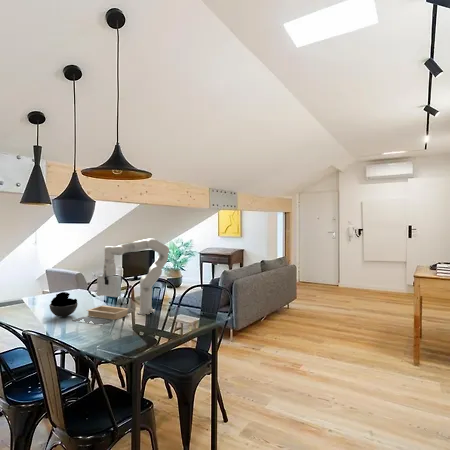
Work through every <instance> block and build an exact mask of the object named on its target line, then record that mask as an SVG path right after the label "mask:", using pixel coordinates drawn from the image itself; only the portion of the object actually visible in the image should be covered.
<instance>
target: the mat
mask: <svg viewBox="0 0 450 450" xmlns="http://www.w3.org/2000/svg"><path fill="white" fill-rule="evenodd" d="M82 319H84V321H85V322H88V323H87V324H89V322H90V321H92V322H93V323H94V324H93V325H96V324H103V325H106V324H108V323H111V322H112V320H111V319H108V320H107V319H104V318H97V317H90V316H81V317H79V318H75V319H72V322H76V321H80V320H82ZM105 323H106V324H105Z"/></svg>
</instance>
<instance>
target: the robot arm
mask: <svg viewBox="0 0 450 450" xmlns="http://www.w3.org/2000/svg"><path fill="white" fill-rule="evenodd" d="M145 250H152V251H153V252H156V253H157V254H158V255H157V257H156V260H155V261H154V262H153V263H152V264H151V266H150V267H149V269H148V273H147V274H144V275H142V276H141V278H140V280H139V291H140V292H139V310H138V311H137V314H139V315H142V316H143V315H145V314H147V315H151V314H150V313H152V312H153V313H156V312H155V311H156V309H155V308H154V309H153V306H152V303H153V301H152V297H153V295H152V294H153V288H152V287H153V286H154V285H155V284H156V282H157V281H158V280H159V278H160V277H161V275H162V272H163V268H164V267H165V265H166V264H167V262H168V259H169V252H170V248H169V247H168V246H167V245H166V244H165V243H162V242H160V241H159V240H158V239H156V238H153V237H151V238H150V237H149V238H146V239H141V240H136V241H132V242H128V243H122V244H119V245H116V246H114V245H106V246H105V247H104V261H103V262H104V264H103V270H102V271H103V272H102V274H101V275H102V276H103V277H104V280H105V285H108V282H109V280H108V277H109V276H117V273H116V270H117V269H116V263H115V256H122V255H124V254H126V253H131V252H132V253H133V252H134V253H135V252H141V251H145ZM106 276H107V277H106ZM153 313H152V314H153Z"/></svg>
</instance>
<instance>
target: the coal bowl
mask: <svg viewBox="0 0 450 450" xmlns="http://www.w3.org/2000/svg"><path fill="white" fill-rule="evenodd" d="M70 295H71V294H70V293H69V292H66V291H62V292H60V293H59V292H58V293H56V295H55V297H53V298H52V300H50V304H49V310H50V312H51V313H52V314H53V315H54V316H56V317H58V318H65V317H69V316H71V315H72V314H73V313H74V312H75V311H76V309H77V308H78V305H79V304H78V299H77V298H74V299H73V298H70Z"/></svg>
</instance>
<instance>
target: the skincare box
mask: <svg viewBox="0 0 450 450" xmlns="http://www.w3.org/2000/svg"><path fill="white" fill-rule="evenodd" d="M102 275H103V274H100V275H99V274H98V275H97V277H96V280H97V282H96V285H97V286H96V295H97V296H104V297H112V298H119V297H121V296H122V276H121V275H120V276H119V275H115V276H109V277H108V280H109V282H108V285H105V280H104V277H103V276H102ZM106 277H107V276H106Z"/></svg>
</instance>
